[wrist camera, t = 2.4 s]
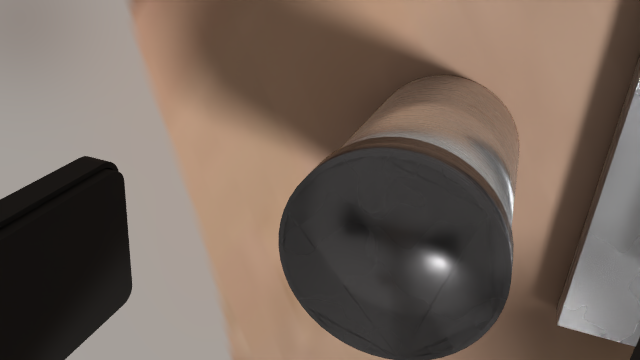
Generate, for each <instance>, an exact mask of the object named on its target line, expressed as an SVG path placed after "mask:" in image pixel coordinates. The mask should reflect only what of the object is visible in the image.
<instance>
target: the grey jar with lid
mask: <svg viewBox="0 0 640 360" xmlns="http://www.w3.org/2000/svg"><path fill="white" fill-rule="evenodd" d="M519 146H520V144H519V135H518V131H517V128H516V125H515V122H514V120H513V117H512V116H511V114H510V112H509V111H508V109H507V107H506V106H505V105H504V104H503V102H502V101H501V100H500V99H499V98H498V97H497V96H496V95H495V94H494V93H492V92H491V91H490V90H488V89H487V88H485V87H484V86H482V85H480V84H478V83H476V82H474V81H471V80H469V79H466V78H462V77H457V76H450V75H435V76H428V77H424V78H420V79H417V80H414V81H412V82H410V83H408V84H406V85H404V86H403V87H401V88H399V89H398V90H397V91H396V92H394V93H393V94H392V95H391V96H390V97H389V98H388V99H387V100H386V101H385V102H384V103H383V104H382V105H381V106H380V108H379V109H378V110H377V111H376V112H375V113H374V114H373V115H372V116H371V117H370V118H369V119H368V120H367V121H366V122H365V123H364V124H363V125H362V126H361V127H360V128H359V129H358V130H357V131H356V132H355V133H354V135H353V136H352V137H351V138H350V139H349V140H348V141H347V142H346V143H345V144H344V145H343V146H342V147H341V148H340V149H339V150H337V151H335V152H333V153H332V154H330V155H329V156H328V157H327V158H325V159H324V160H323V161H322V162H321V163H320V164H319V165H318V166H317V167H316V168H315V169H314V170H313V171H312V172H311V173H310V174H309V175H308V176H307V177H306V178H305V179H304V180H303V181H302V182H301V183H300V184H299V185H298V186H297V188H296V189H295V191H294V192H293V194H292V195H291V196H290V198H289V200H288V202H287V204H286V207H285V209H284V212H283V215H282V218H281V222H280V229H279V252H280V260H281V263H282V267H283V271H284V274H285V276H286V279H287V281H288V284H289V286H290V288H291V289H292V291H293V293H294V295H295V297H296V298H297V300H298V301H299V302H300V304H301V305H302V307H303V308H304V309H305V310H306V311H307V313H308V314H309V315H310V316H311V317H312V318H313V319H314V320H315V321H316V322H317V323H318V324H319V325H320V326H321V327H322V328H324V329H325V330H326V331H328V332H329V333H330V334H331V335H333V336H334V337H336V338H337V339H339V340H341V341H342V342H344V343H346V344H348V345H350V346H352V347H354V348H356V349H358V350H360V351H363V352H366V353H368V354H371V355H375V356H379V357H382V358H387V359H393V360H431V359H436V358H441V357H444V356H448V355H451V354H454V353H456V352H458V351H460V350H462V349H464V348H467V347H468V346H470V345H471V344H473V343H474V342H476V341H477V340H479V339H480V338H481V337H482V336H483V335H484V334H485V333H486V332H487V331H488V330H489V329H490V328H491V327H492V325H493V324H494V323H495V322H496V320H497V319H498V317H499V315H500V313H501V312H502V310H503V308H504V305H505V303H506V300H507V297H508V294H509V289H510V284H511V275H512V264H513V237H512V230H511V227H512V218H513V208H514V199H515V189H516V180H517V171H518V161H519Z"/></svg>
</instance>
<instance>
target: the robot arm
mask: <svg viewBox="0 0 640 360" xmlns="http://www.w3.org/2000/svg"><path fill="white" fill-rule="evenodd" d="M131 290H132V276H131V265H130V251H129V238H128V225H127V212H126V199H125V186H124V178H123V175H122V174H121V173H120V172H118V169H117V167H116V165H115V164H113V163H112V162H108V161H104V160H100V159H96V158H92V157H87V156H84V157H81V158H79V159H77V160H75V161H73V162H71V163H69V164H67V165H65V166H64V167H61V168H60V169H58V170H56V171H54V172H52V173H50V174H48V175H46V176H44V177H43V178H41V179H39V180H37V181H35V182H33V183H31V184H29V185H27V186H25V187H23V188H22V189H20V190H18V191H16V192H14V193H12V194H10V195H8V196H6V197H5V198H3V199H1V200H0V360H65V359H66V358H67V357H68V356H69V355H70V354H71V353H72V352H73V351H74V350H75V349H76V348H78V347H79V346H80V345H81V344H82V343H83V342H84V341H85V340H86V339H87V338H88V337H89V336H91V335H92V334H93V333H94V332H95V331H96V330H97V329H98V328H99V327H100V326H101V325H102V324H103V323H104V322H106V321H107V320H108V319H109V318H110V317H111V316H112V315H113V314H114V313H115V312H116V311H117V310H118V309H119V308H121V307H122V306H123V305H124V304H125V303H126V301H127V300H128V298H129V296H130V294H131ZM630 360H640V337H639V340H638V342H637V344H636V347H635V349H634V351H633V354H632V356H631V358H630Z"/></svg>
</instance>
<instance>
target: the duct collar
mask: <svg viewBox="0 0 640 360" xmlns="http://www.w3.org/2000/svg"><path fill="white" fill-rule="evenodd" d="M557 325H558V326H562V327H566V328H569V329H573V330H577V331H580V332H584V333H587V334H591V335H595V336H598V337H602V338H605V339H609V340H613V341H616V342H620V343H623V344H627V345H631V346H634V347H636V344H637V342H638V340H639V337H640V57H639V60H638V63H637V66H636V69H635V72H634V75H633V78H632V81H631V84H630V87H629V90H628V93H627V96H626V99H625V102H624V105H623V108H622V111H621V114H620V117H619V120H618V123H617V126H616V130H615V133H614V136H613V139H612V142H611V145H610V148H609V151H608V154H607V157H606V160H605V163H604V166H603V169H602V172H601V175H600V178H599V181H598V184H597V187H596V190H595V193H594V196H593V199H592V202H591V205H590V209H589V212H588V215H587V218H586V221H585V224H584V227H583V230H582V233H581V236H580V239H579V242H578V245H577V248H576V251H575V254H574V257H573V260H572V263H571V266H570V269H569V272H568V275H567V278H566V281H565V285H564V288H563V291H562V294H561V297H560V300H559V303H558V306H557Z"/></svg>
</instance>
